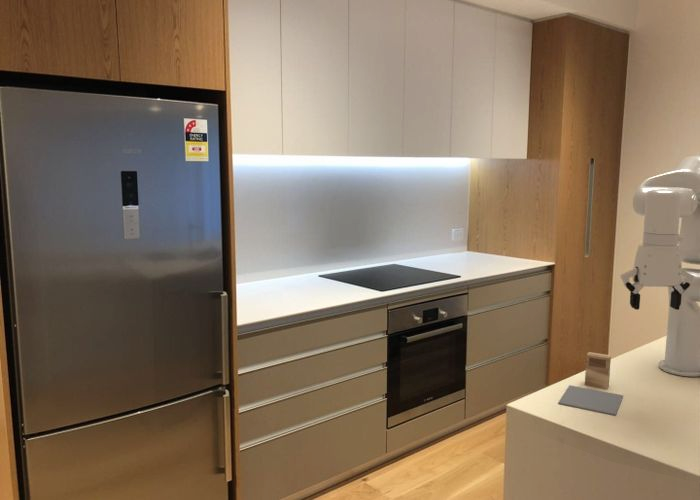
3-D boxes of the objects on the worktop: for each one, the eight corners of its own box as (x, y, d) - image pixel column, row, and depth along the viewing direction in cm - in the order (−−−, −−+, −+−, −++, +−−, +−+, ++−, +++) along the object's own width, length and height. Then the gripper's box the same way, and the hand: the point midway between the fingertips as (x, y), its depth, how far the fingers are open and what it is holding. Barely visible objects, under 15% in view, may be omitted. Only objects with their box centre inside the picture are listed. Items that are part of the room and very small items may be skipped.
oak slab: (586, 381, 171) (588, 352, 169) (608, 385, 167) (610, 355, 166) (584, 385, 168) (586, 355, 167) (607, 389, 165) (609, 358, 163)
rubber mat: (569, 386, 167) (569, 385, 167) (623, 396, 160) (623, 395, 160) (558, 403, 155) (558, 402, 155) (615, 415, 148) (615, 414, 148)
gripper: (687, 238, 146) (682, 304, 149) (617, 238, 147) (613, 304, 149) (704, 242, 139) (698, 312, 141) (630, 242, 139) (625, 312, 142)
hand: (654, 308), depth 145 cm, fingers open, 9 cm apart
